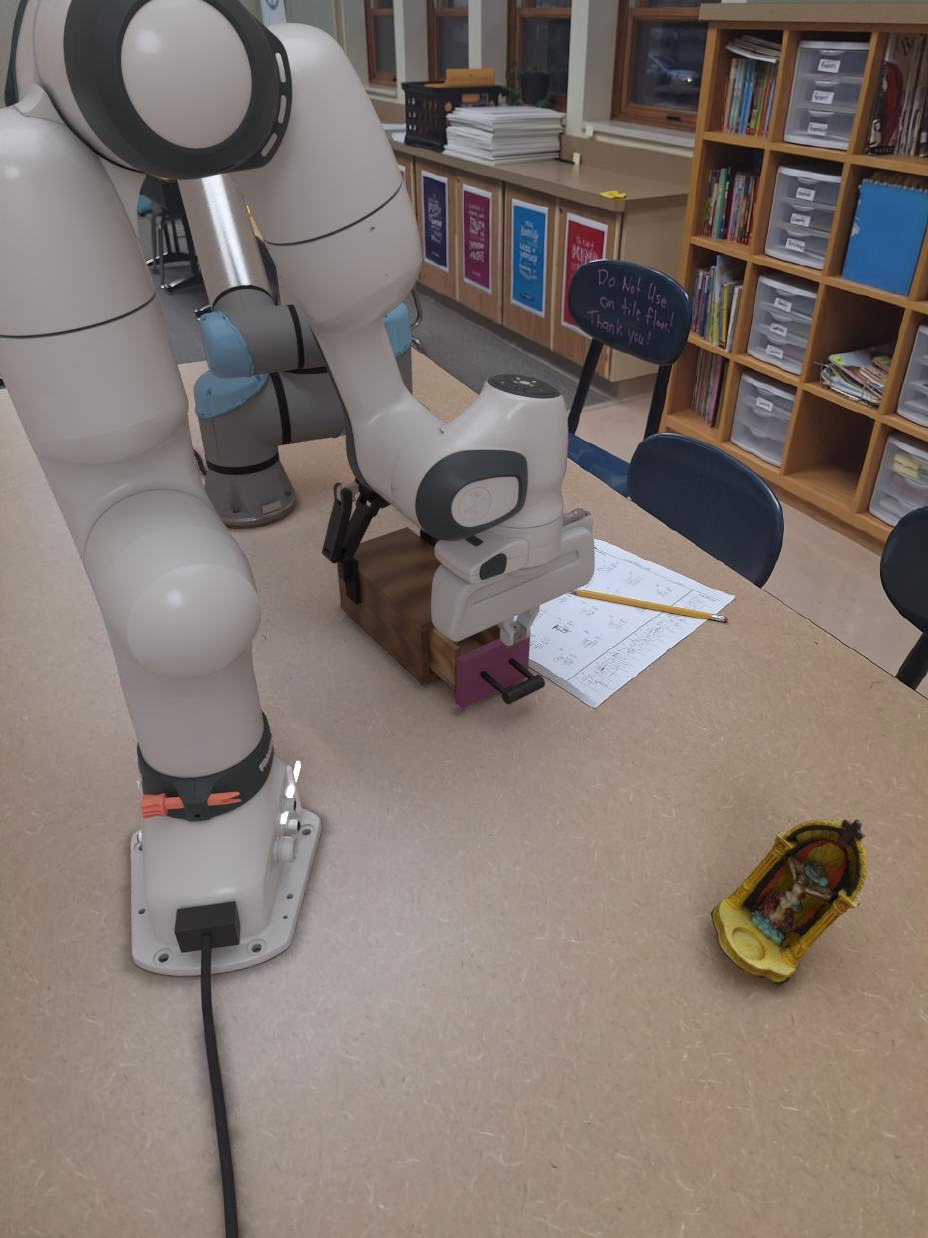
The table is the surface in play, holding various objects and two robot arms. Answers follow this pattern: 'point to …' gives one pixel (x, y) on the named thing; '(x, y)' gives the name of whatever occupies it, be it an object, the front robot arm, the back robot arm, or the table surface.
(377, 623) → the cabinet
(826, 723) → the table surface
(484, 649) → the drawer
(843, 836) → the shrine
